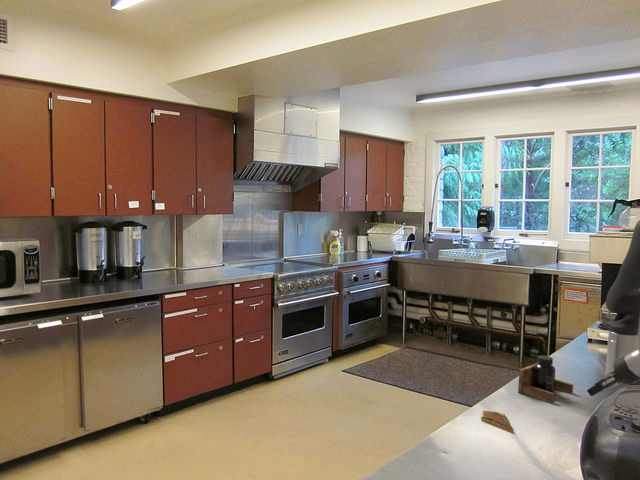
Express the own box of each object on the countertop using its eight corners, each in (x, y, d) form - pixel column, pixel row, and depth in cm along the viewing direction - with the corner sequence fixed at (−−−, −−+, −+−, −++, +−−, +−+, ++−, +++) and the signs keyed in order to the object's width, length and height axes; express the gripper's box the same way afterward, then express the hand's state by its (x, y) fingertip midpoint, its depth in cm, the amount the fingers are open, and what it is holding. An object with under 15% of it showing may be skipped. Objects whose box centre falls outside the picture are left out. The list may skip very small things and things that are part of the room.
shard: (513, 434, 139) (513, 428, 139) (485, 432, 140) (485, 426, 140) (504, 417, 150) (505, 412, 150) (478, 415, 151) (478, 409, 151)
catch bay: (541, 382, 179) (543, 360, 178) (573, 392, 170) (575, 369, 169) (518, 392, 169) (519, 369, 168) (550, 403, 160) (552, 379, 159)
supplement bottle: (553, 390, 172) (555, 355, 171) (555, 397, 166) (557, 362, 164) (531, 386, 174) (533, 353, 173) (532, 394, 168) (534, 359, 167)
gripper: (635, 351, 153) (591, 378, 164) (617, 358, 145) (571, 386, 156) (653, 372, 150) (607, 399, 160) (636, 381, 142) (588, 409, 152)
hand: (589, 392), depth 158 cm, fingers closed
